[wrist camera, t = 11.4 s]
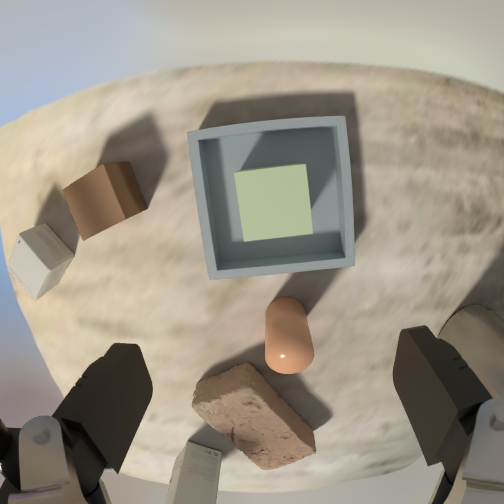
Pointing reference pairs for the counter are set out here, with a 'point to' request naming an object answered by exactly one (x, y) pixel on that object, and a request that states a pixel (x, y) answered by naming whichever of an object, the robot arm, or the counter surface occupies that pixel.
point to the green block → (274, 201)
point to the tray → (271, 154)
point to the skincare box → (195, 476)
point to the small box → (39, 260)
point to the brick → (253, 417)
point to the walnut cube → (104, 198)
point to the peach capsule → (287, 336)
